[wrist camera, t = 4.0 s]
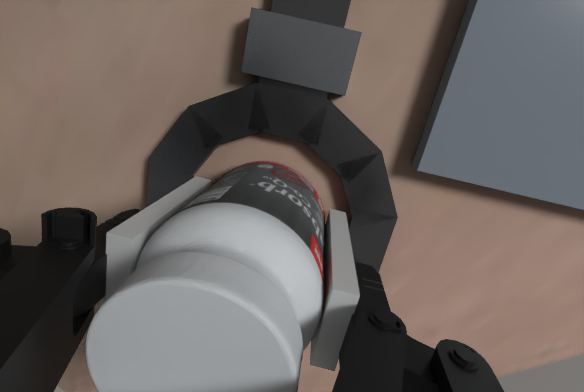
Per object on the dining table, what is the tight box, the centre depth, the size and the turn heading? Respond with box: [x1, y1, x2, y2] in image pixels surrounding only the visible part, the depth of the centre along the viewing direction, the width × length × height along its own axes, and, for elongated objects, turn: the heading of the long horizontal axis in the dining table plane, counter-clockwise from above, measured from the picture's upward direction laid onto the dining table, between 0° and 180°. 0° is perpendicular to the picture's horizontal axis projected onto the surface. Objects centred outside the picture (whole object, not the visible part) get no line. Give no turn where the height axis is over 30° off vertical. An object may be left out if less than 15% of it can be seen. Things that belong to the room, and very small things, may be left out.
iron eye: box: [146, 0, 397, 272], centre depth 14 cm, size 12×21×1 cm, turn 167°
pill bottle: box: [85, 161, 325, 392], centre depth 11 cm, size 6×6×10 cm
